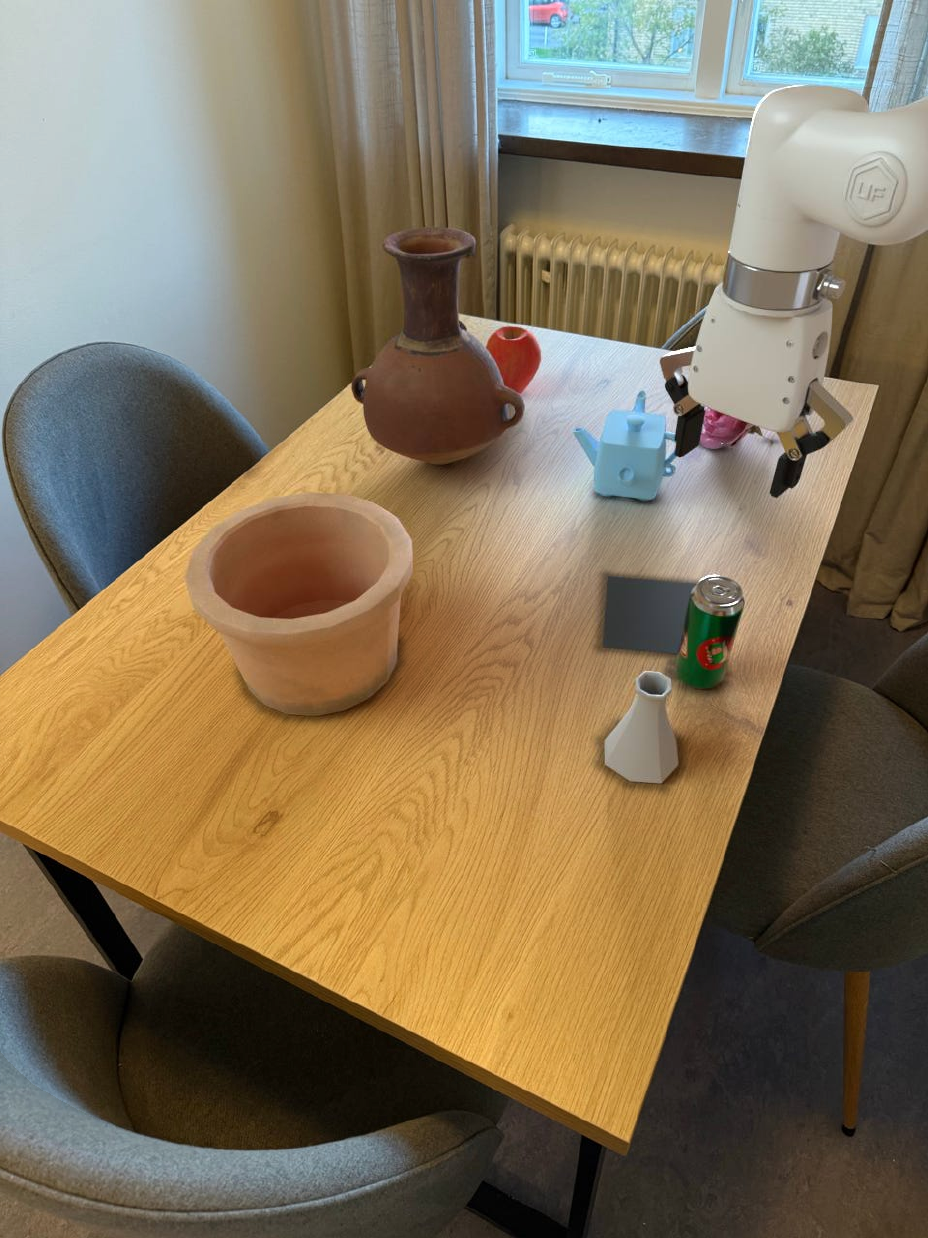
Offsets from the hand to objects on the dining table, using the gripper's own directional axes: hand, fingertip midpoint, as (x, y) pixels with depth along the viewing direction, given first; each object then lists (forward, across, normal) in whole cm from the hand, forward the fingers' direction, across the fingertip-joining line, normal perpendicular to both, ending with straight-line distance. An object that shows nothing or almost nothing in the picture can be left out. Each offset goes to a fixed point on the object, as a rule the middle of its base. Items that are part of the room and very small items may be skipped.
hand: (732, 469), depth 75 cm
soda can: (+22, -3, +3) cm, 23 cm away
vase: (+22, +47, -8) cm, 53 cm away
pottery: (+22, +28, +29) cm, 46 cm away
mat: (+22, +5, -1) cm, 23 cm away
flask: (+22, -4, +16) cm, 28 cm away
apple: (+22, +52, -29) cm, 63 cm away
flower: (+22, +19, -39) cm, 49 cm away
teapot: (+22, +24, -20) cm, 39 cm away
